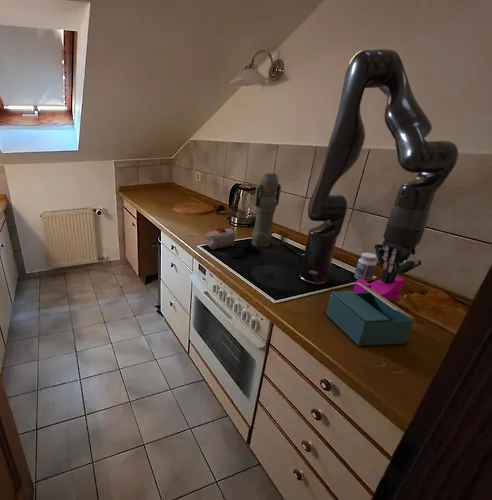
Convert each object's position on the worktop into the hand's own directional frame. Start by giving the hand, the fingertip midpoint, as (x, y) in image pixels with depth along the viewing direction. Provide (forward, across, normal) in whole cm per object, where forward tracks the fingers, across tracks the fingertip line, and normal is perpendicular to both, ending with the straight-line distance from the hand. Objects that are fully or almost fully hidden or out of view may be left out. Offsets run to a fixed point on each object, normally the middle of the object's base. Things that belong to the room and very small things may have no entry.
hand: (386, 282), depth 83 cm
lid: (+6, 0, +1) cm, 6 cm away
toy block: (+15, -16, +12) cm, 25 cm away
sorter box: (+15, 0, -3) cm, 15 cm away
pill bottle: (+15, -29, +18) cm, 38 cm away
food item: (+15, -67, -28) cm, 74 cm away
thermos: (+15, -67, -7) cm, 69 cm away
